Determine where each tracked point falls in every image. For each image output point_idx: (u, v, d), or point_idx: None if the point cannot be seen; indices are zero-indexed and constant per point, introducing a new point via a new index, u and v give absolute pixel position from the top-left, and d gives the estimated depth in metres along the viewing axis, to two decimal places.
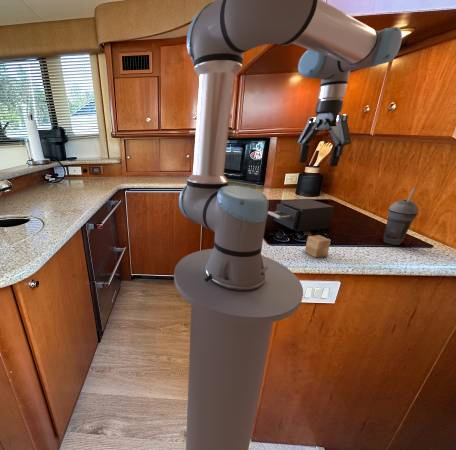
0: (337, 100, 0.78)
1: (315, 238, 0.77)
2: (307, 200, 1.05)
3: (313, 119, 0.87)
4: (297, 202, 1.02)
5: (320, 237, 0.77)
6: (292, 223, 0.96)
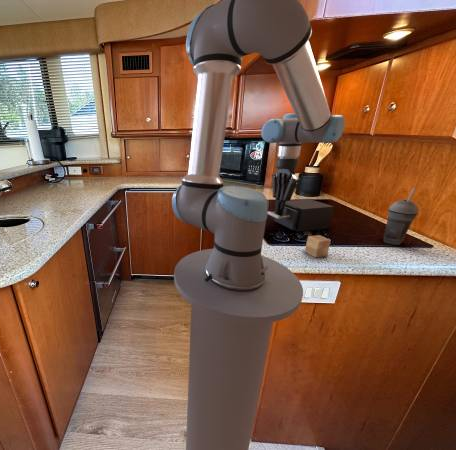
0: (292, 159, 0.88)
1: (315, 238, 0.77)
2: (307, 200, 1.05)
3: (275, 174, 0.98)
4: (297, 202, 1.02)
5: (320, 237, 0.77)
6: (291, 223, 0.96)
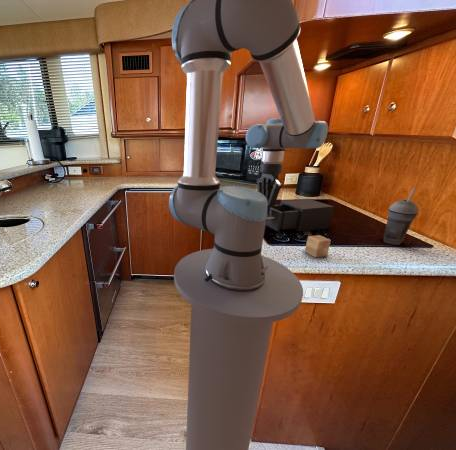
0: (276, 164, 0.87)
1: (315, 238, 0.77)
2: (307, 200, 1.05)
3: (260, 179, 0.97)
4: (297, 202, 1.02)
5: (320, 237, 0.77)
6: (277, 225, 0.95)
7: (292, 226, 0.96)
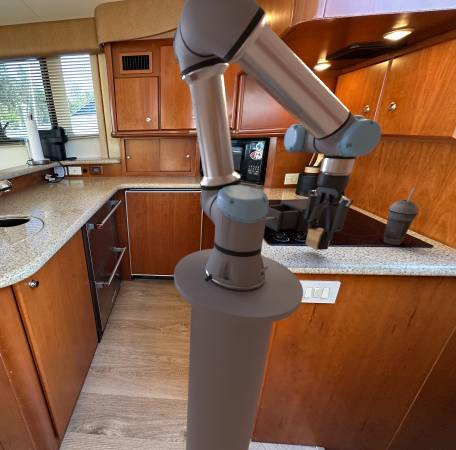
0: (343, 176, 0.66)
1: (316, 230, 0.76)
2: (307, 200, 1.05)
3: (314, 192, 0.76)
4: (297, 202, 1.02)
5: (321, 229, 0.76)
6: (276, 225, 0.95)
7: (291, 226, 0.96)
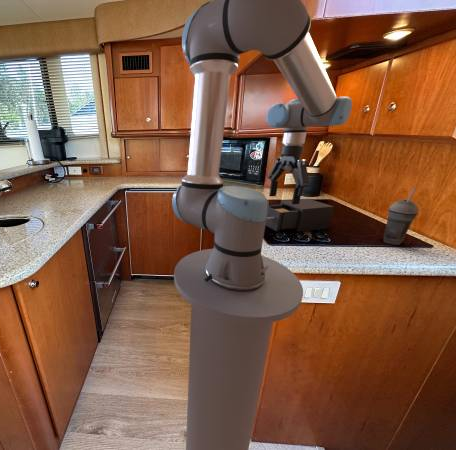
0: (297, 146, 0.87)
1: (279, 210, 0.99)
2: (307, 200, 1.05)
3: (280, 159, 0.96)
4: None
5: (283, 209, 0.99)
6: (276, 225, 0.95)
7: (291, 226, 0.96)
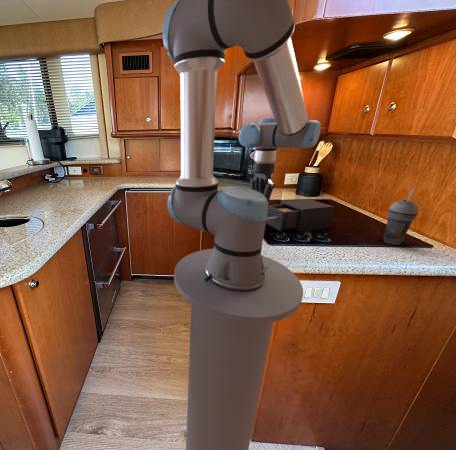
0: (268, 164, 0.87)
1: (282, 210, 0.99)
2: (307, 200, 1.05)
3: (253, 178, 0.97)
4: (297, 202, 1.02)
5: (286, 209, 1.00)
6: (280, 224, 0.95)
7: (295, 226, 0.97)
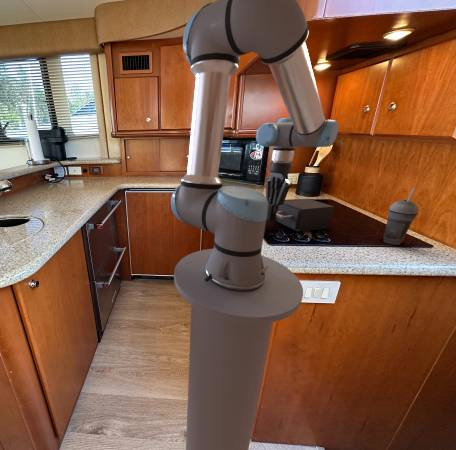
0: (286, 164, 0.88)
1: None
2: (307, 200, 1.05)
3: (269, 178, 0.98)
4: (297, 202, 1.02)
5: None
6: (294, 223, 0.96)
7: None
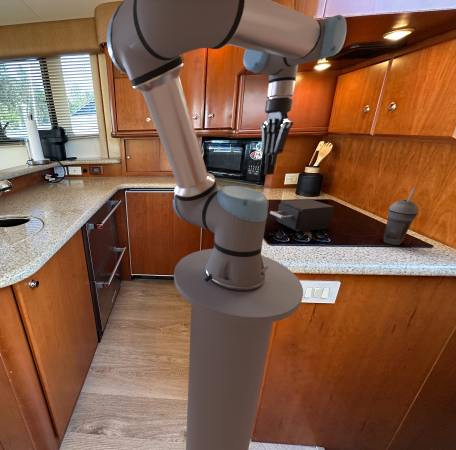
0: (285, 98, 0.72)
1: None
2: (307, 200, 1.05)
3: (265, 123, 0.81)
4: (297, 202, 1.02)
5: None
6: (294, 223, 0.96)
7: None
